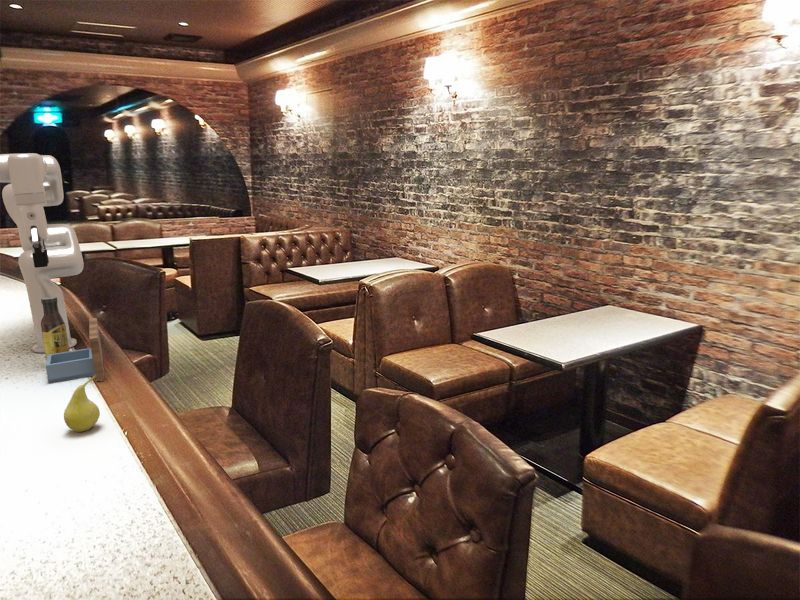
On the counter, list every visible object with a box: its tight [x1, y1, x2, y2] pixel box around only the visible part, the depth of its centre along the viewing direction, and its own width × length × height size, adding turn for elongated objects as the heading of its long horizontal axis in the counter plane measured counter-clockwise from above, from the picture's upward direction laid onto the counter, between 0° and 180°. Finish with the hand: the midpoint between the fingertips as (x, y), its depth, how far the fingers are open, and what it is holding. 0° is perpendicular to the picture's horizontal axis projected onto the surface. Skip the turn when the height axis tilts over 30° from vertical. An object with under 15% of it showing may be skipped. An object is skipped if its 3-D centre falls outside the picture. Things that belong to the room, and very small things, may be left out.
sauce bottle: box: [41, 297, 70, 362], centre depth 182 cm, size 7×6×20 cm
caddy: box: [45, 347, 95, 384], centre depth 175 cm, size 11×12×5 cm
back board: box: [88, 317, 106, 383], centre depth 177 cm, size 24×2×12 cm, turn 26°
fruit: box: [63, 375, 101, 433], centre depth 137 cm, size 7×8×12 cm
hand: (41, 264), depth 177 cm, fingers open, 5 cm apart
